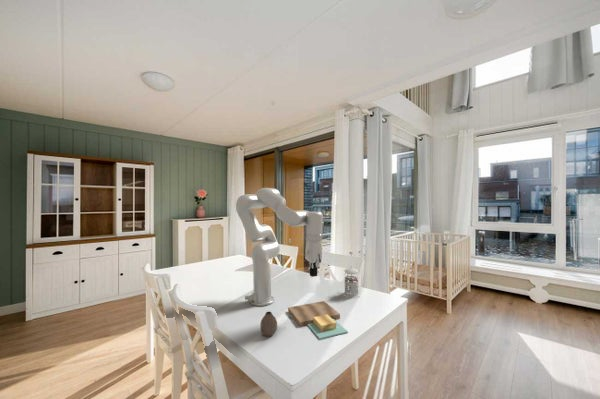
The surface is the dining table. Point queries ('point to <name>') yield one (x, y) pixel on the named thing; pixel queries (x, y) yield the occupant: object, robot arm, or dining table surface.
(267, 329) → the vase
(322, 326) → the yellow flat block
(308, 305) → the wooden board
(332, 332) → the mat
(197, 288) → the dining table surface
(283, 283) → the dining table surface
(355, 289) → the french press
